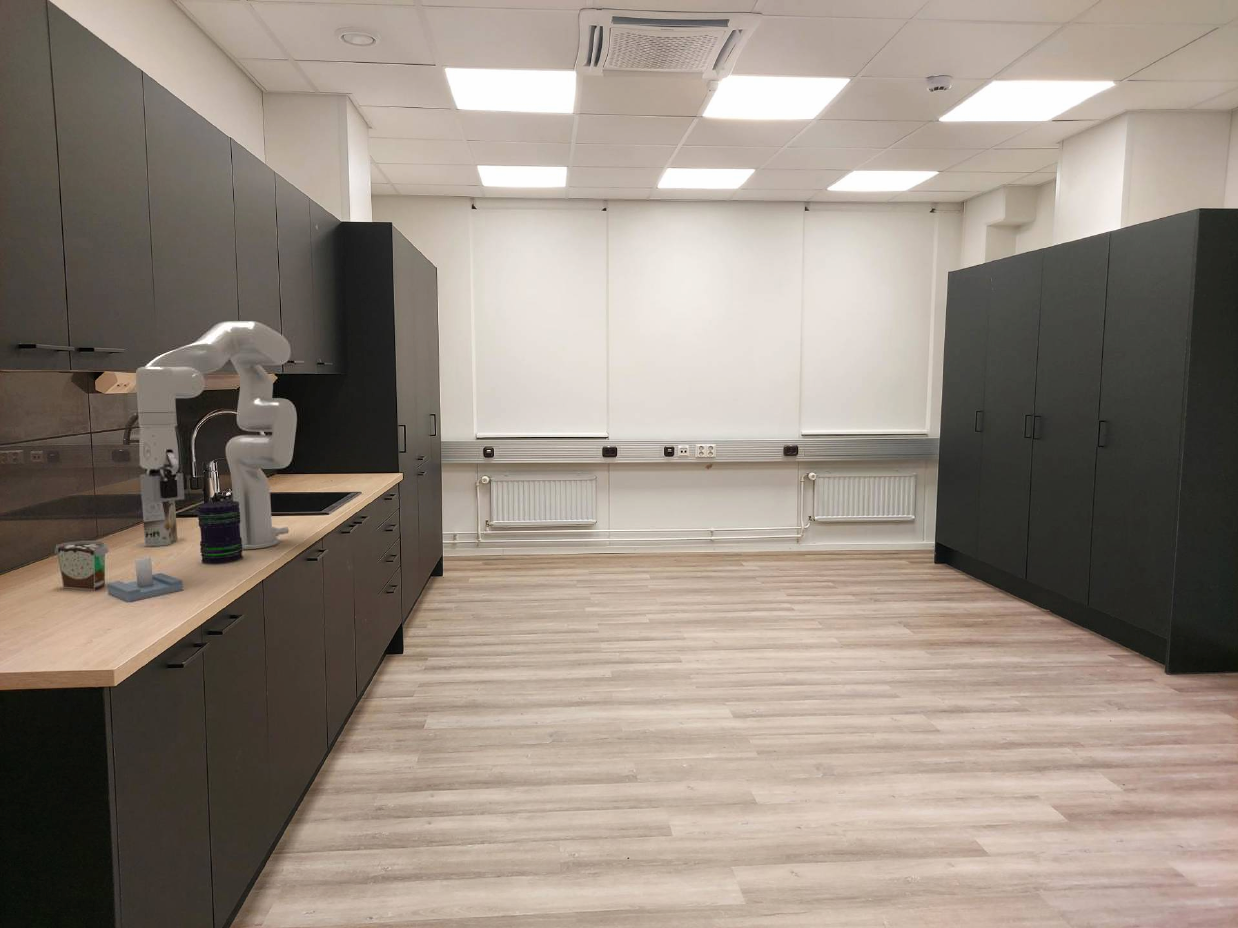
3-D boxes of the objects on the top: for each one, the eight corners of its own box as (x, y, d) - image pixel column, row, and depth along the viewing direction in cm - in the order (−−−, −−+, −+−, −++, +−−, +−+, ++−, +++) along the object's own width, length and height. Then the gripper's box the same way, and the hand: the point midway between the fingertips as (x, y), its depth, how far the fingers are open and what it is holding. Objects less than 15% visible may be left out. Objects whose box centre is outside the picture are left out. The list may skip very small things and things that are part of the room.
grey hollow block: (171, 497, 181) (170, 472, 181) (184, 499, 177) (182, 473, 177) (141, 500, 176) (139, 474, 175) (153, 502, 172) (152, 476, 171)
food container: (124, 583, 176) (120, 541, 175) (99, 590, 170) (96, 547, 169) (83, 580, 180) (79, 539, 178) (58, 587, 174) (54, 544, 173)
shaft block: (161, 582, 177) (158, 551, 176) (182, 589, 170) (180, 557, 170) (108, 593, 168) (105, 560, 167) (128, 601, 162) (125, 567, 161)
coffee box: (170, 545, 217) (165, 490, 215) (144, 547, 215) (140, 491, 213) (178, 539, 226) (174, 486, 224) (153, 540, 224) (149, 487, 222)
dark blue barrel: (211, 566, 192) (207, 508, 190) (194, 560, 198) (190, 504, 196) (250, 558, 200) (246, 503, 198) (232, 553, 206) (228, 499, 204)
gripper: (124, 420, 177) (129, 495, 179) (156, 421, 167) (161, 501, 168) (159, 419, 183) (163, 492, 185) (192, 420, 173) (197, 497, 174)
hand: (162, 495), depth 176 cm, fingers closed on grey hollow block, 6 cm apart
